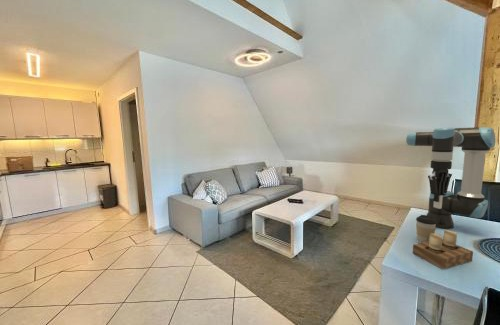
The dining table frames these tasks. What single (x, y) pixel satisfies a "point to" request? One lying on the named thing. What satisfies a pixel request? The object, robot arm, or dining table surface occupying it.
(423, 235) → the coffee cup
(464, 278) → the dining table surface
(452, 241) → the peg
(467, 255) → the board
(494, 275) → the dining table surface
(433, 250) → the peg
